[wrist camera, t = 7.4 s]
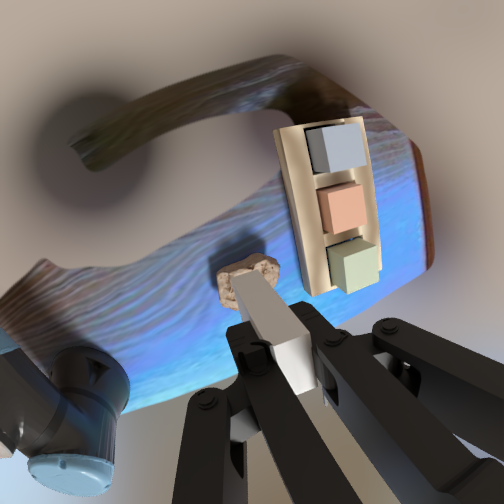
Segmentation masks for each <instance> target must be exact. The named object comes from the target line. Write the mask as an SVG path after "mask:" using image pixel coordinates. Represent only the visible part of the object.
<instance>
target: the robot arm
mask: <svg viewBox="0 0 504 504" xmlns="http://www.w3.org/2000/svg"><path fill="white" fill-rule="evenodd" d="M230 279H231V283H232V286H233V290H234V293H235V297H236V300H237V304H238V307H239V310H240V314H241V317H242V321H243V323H240V324H237V325H234V326H231V327H228V329H227V332H226V338H227V341H228V343H229V346H230V349H231V352H232V355H233V358H234V361H235V363H236V366H237V369H238V372H239V373H238V377H237V379H236V381H234V383H233V384H232V385H230V386H229V387H228V388H226V389H224V390H221V389H218V388H205V389H202V390H200V391H198V392H197V393H195V394H194V395H193V396H192V397H191V398H190V400H189V402H188V407H187V412H186V418H185V424H184V429H183V435H182V441H181V447H180V453H179V459H178V465H177V472H176V478H175V484H174V491H173V498H172V504H248V482H247V442H246V440H247V439H248V438H250V437H252V436H253V435H255V434H256V433H258V432H259V431H262V434H263V436H264V438H265V441H266V443H267V446H268V448H269V450H270V453H271V455H272V457H273V460H274V462H275V464H276V466H277V469H278V471H279V474H280V476H281V478H282V480H283V483H284V485H285V487H286V489H287V492H288V494H289V496H290V498H291V500H292V503H293V504H363V503H362V502H361V500H360V499H359V497H358V496H357V494H356V492H355V491H354V489H353V488H352V486H351V485H350V483H349V481H348V480H347V478H346V477H345V475H344V474H343V472H342V470H341V469H340V467H339V465H338V464H337V462H336V461H335V459H334V457H333V456H332V454H331V453H330V451H329V449H328V448H327V446H326V444H325V443H324V441H323V440H322V438H321V436H320V435H319V433H318V431H317V430H316V428H315V426H314V425H313V423H312V421H311V420H310V418H309V416H308V415H307V413H306V411H305V410H304V408H303V406H302V405H301V403H300V401H299V400H298V398H297V396H296V395H298V394H301V393H303V392H305V391H308V390H310V389H313V388H315V387H317V386H318V383H317V378H318V380H319V381H320V382H321V384H322V390H323V399H324V404H325V407H326V406H328V402H327V400H328V401H329V403H330V404H331V405H332V407H333V409H334V410H335V411H336V413H337V414H338V416H339V417H340V419H341V420H342V421H343V423H344V424H345V426H346V427H347V428H348V430H349V432H350V433H351V434H352V436H353V437H354V439H355V440H356V441H357V443H358V444H359V445H360V447H361V449H362V450H363V451H364V453H365V454H366V455H367V457H368V458H369V460H370V461H371V463H372V464H373V465H374V467H375V468H376V470H377V471H378V472H379V474H380V475H381V476H382V478H383V479H384V481H385V482H386V483H387V485H388V486H389V487H390V489H391V490H392V492H393V493H394V494H395V496H396V497H397V499H398V500H399V501H400V503H401V504H504V466H503V465H502V464H501V463H500V462H498V461H497V460H496V459H493V458H489V457H488V458H482V459H480V458H477V457H476V456H474V455H473V454H472V453H471V452H470V451H469V450H468V449H467V448H466V447H465V446H464V445H463V444H462V443H461V442H460V441H459V440H458V439H457V438H456V437H455V436H454V435H453V434H455V435H457V436H458V437H460V438H462V439H464V440H465V441H467V442H469V443H471V444H472V445H474V446H476V447H478V448H480V449H481V450H483V451H485V452H487V453H488V454H490V455H492V456H494V457H496V458H497V459H499V460H501V461H503V462H504V364H502V363H499V362H497V361H495V360H492V359H490V358H488V357H485V356H483V355H481V354H479V353H476V352H474V351H472V350H469V349H467V348H465V347H462V346H460V345H458V344H456V343H453V342H451V341H449V340H446V339H444V338H442V337H439V336H437V335H435V334H433V333H430V332H428V331H426V330H423V329H421V328H419V327H417V326H414V325H412V324H410V323H407V322H405V321H403V320H401V319H397V318H384V319H381V320H379V321H377V322H376V323H375V324H374V325H373V329H372V333H368V334H363V335H356V336H352V335H351V334H350V333H349V332H347V331H346V330H341V329H335V328H334V327H333V326H332V325H331V324H330V323H329V322H328V321H327V320H326V319H325V318H324V317H323V316H322V315H321V314H320V313H319V312H318V311H317V310H316V309H315V308H314V307H313V306H312V305H311V304H309V303H306V302H304V301H301V302H298V303H295V304H292V305H290V306H287V304H286V303H285V302H284V301H283V300H282V298H281V297H280V296H279V295H278V294H277V292H276V291H275V290H274V289H273V288H272V286H271V285H270V284H269V283H268V281H267V280H266V279H265V278H264V277H263V275H262V274H261V273H260V272H259V271H258V269H257V270H254V271H251V272H248V273H245V274H242V275H238V276H235V277H232V278H230ZM404 362H406V363H408V364H410V366H407V365H405V364H404ZM129 395H130V382H129V379H128V376H127V374H126V372H125V371H124V369H123V368H122V367H121V366H120V365H119V364H118V363H117V362H116V361H115V360H114V359H112V358H111V357H110V356H108V355H106V354H105V353H103V352H100V351H98V350H95V349H92V348H87V347H72V348H68V349H65V350H63V351H61V352H60V353H59V354H58V355H57V356H56V357H55V359H54V361H53V363H52V366H51V368H50V373H49V379H48V378H47V377H46V376H45V375H44V374H43V373H42V372H41V370H40V369H39V368H38V367H37V366H36V365H35V364H34V363H33V362H32V361H31V360H30V358H29V357H28V356H27V355H26V354H25V353H24V352H23V350H22V349H21V346H20V345H18V344H16V343H15V342H14V341H13V340H12V339H11V337H10V336H9V335H8V334H7V333H6V332H5V331H4V329H2V328H1V327H0V458H9V457H12V456H13V454H14V452H15V450H16V449H18V450H19V451H20V452H22V453H23V454H24V455H25V456H27V457H28V458H29V460H28V462H27V465H28V470H29V472H30V474H31V475H32V476H33V478H34V479H35V480H36V481H38V482H39V483H41V484H42V485H44V486H46V487H48V488H50V489H52V490H55V491H58V492H61V493H64V494H68V495H74V496H82V497H83V496H84V497H90V496H97V495H100V494H103V493H104V492H106V491H107V490H108V489H109V488H110V486H111V483H112V476H113V471H114V455H115V436H116V423H117V420H118V418H119V416H120V414H121V412H122V411H123V410H124V408H125V407H126V405H127V403H128V400H129ZM452 433H453V434H452Z"/></svg>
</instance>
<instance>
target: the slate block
mask: <svg viewBox="0 0 504 504" xmlns="http://www.w3.org/2000/svg"><path fill="white" fill-rule="evenodd" d="M306 136H307V140H308V145H309V150H310V155H311V159H312V164H313V169H314V171H315V172H326V173H333V172H337V171H342V170H346V169H351V168H356V167H360V166H365V165H367V162H366V156H365V151H364V145H363V140H362V134H361V129H360V124H359V123H353V124H345V125H338V126H331V127H324V128H319V129H313V130H308V131H306Z"/></svg>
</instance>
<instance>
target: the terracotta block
mask: <svg viewBox="0 0 504 504" xmlns="http://www.w3.org/2000/svg"><path fill="white" fill-rule="evenodd" d="M316 194H317V200H318V205H319V211H320V217H321V223H322V229H323V230H325V231H328V232H330V233H332V234H337V233H340V232H343V231H346V230H349V229H353V228H356V227H359V226H362V225H365V224H367V216H366V208H365V201H364V193H363V186H362V185H361V184H355V183H348V182H342V183H338V184H334V185H330V186H326V187H322V188H318V189H316Z"/></svg>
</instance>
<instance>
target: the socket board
mask: <svg viewBox="0 0 504 504" xmlns="http://www.w3.org/2000/svg"><path fill="white" fill-rule="evenodd" d="M353 123H359V124H360V129H361V134H362V140H363V145H364V151H365V156H366V162H367V165H365V166H360V167H356V168H351V169H346V170H342V171H337V172H333V173H326V172H314V173H312V168H311V163H310V158H309V153H308V148H307V144H306V139H305V134H304V130H303V128H308V127H314V126H321V125H328V124H335V126H338V125H345V124H353ZM272 132H273V136H274V140H275V144H276V148H277V153H278V158H279V162H280V167H281V172H282V176H283V181H284V186H285V190H286V195H287V200H288V205H289V210H290V215H291V220H292V225H293V230H294V235H295V240H296V246H297V251H298V256H299V262H300V267H301V273H302V278H303V284H304V290H305V291H306V292H307V293H308V294H309V295H310V296H311V297H314V296H317V295H319V294H322V293H325V292H327V291H330V290H332V289H335V288H338V287H337V286H336V285H335V284H333V283H332V280H331V278H330V277H329V269H328V262H327V255H326V248H325V247H327V246H330V245H333V244H336V243H339V242H342V241H345V240H348V239H351V238H354V239H356V238H361V239H363V240H365V241H368V242H370V243H372V244H374V245H377V256H378V271H380V270H382V260H381V245H380V233H379V223H378V213H377V204H376V196H375V188H374V181H373V174H372V168H371V161H370V155H369V150H368V144H367V139H366V133H365V128H364V123H363V118H362V117H352V118H344V119H336V120H329V121H322V122H315V123H308V124H302V125H296V126H290V127H285V128H279V129H276V130H273V131H272ZM342 182H348V183H355V184H361V185H362V186H363V193H364V201H365V208H366V216H367V224H365V225H362V226H359V227H356V228H353V229H349V230H346V231H343V232H340V233H337V234H332V233H330V232H328V231H325V230H323V229H322V223H321V217H320V211H319V205H318V200H317V194H316V189H318V188H322V187H326V186H330V185H334V184H338V183H342Z"/></svg>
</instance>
